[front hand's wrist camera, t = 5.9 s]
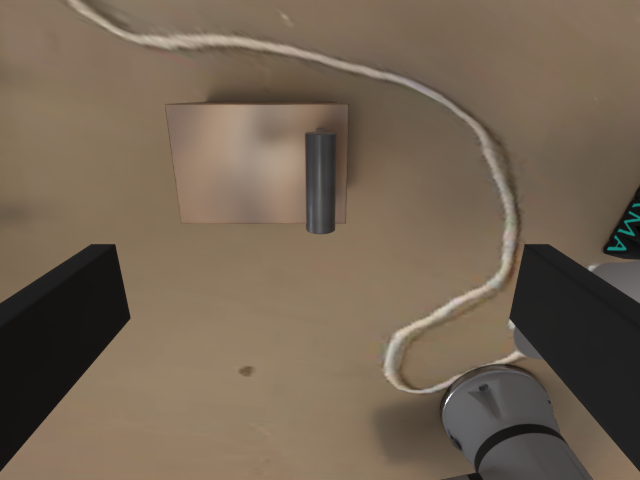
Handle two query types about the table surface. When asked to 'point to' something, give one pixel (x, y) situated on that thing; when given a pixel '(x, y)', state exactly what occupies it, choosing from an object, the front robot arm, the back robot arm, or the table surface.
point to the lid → (260, 163)
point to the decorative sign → (627, 234)
